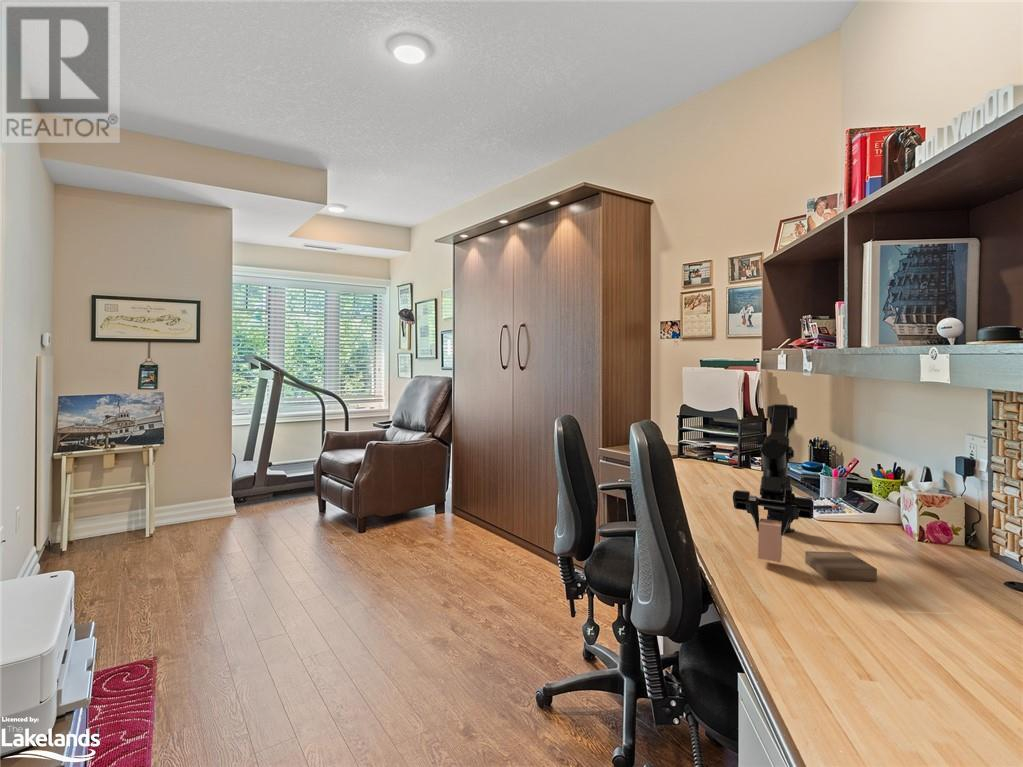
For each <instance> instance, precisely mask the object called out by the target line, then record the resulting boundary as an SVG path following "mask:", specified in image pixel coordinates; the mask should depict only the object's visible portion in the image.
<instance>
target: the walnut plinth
mask: <svg viewBox="0 0 1023 767" xmlns="http://www.w3.org/2000/svg"><path fill="white" fill-rule="evenodd" d="M804 556H805V557H804V559H805V561H804V563H805V564H806V565H808V566H809V567H810V568H812V569H813V570H814V571H815V572H817V573H818V574H820V575H821V577H823V578H825V579H826V580H827V581H841V582H842V581H843V582H847V581H848V582H877V581H878V578H877V577H878V568H876V567H875V566H873V565H871V564H869V563H868V562H867V561H865V560H863V559H862V558H860V557H858V556H857V555H855V554H853V553H852V552H850V551H849V552H847V551H845V552H843V551H842V552H841V551H815V550H814V551H811V550H807V551H805V555H804Z"/></svg>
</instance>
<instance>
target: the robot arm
mask: <svg viewBox="0 0 1023 767" xmlns="http://www.w3.org/2000/svg"><path fill="white" fill-rule="evenodd" d="M766 409H767V410H766V419H768V420H769V425H770V434H769V435H767V436H765V437H764V442H763V444H761V445H760V449H759V457H761V459H762V460H761V461H762V467H763V469H762V471H763V472H762V476H761V480H760V482H761V483H760V486H759V496H760V497H758V496H756V495H751V491H747V490H739V489H735V490H734V491H733V493H732V501H733V508H734V509H736V510H739V511H740V510H741V511H746V513H747V514H750V515H751V517H752V519H753V521H754V524H755V528H756V531H757V533H759V521H760V510H759V506H760V507H763V511H767V515H766V519H770V520H777V521H782V527H781V536H782V537H783V536H784V534H787V533H794V532H795V531H796V530H795V528H791V524H792V523H793V521H794V520H795V521H796V520H797V521H798V520H799V519H802V518H803V519H808V520H809V519H810V520H811V519H814V500H813V499H812V498H808V497H801V496H796V494H795V493H794V492H793V486H792V477H791V476H789V475H788V472H789V471H788V468H789V467H788V466H789V465H788V464H789V462H790V460H793V458H794V457H795V450H794V448H793V447H792V446H791V445H790V444H791V443H790V433H791V431H792V430H793V429H794V428H795V425H796V421H798V407H796V406H794V405H791V404H779V403H778V404H776V403H774V404H772V405H767V407H766Z"/></svg>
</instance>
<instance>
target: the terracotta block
mask: <svg viewBox="0 0 1023 767" xmlns="http://www.w3.org/2000/svg"><path fill="white" fill-rule="evenodd" d="M781 527H782V521H777V520H770V519H767V518H759V532H758V540H757V541H758V543H757V544H758V546H757V547H758V548H757V559H758V560H765V561H770V562H775V563H781V560H782V556H783V555H782V554H783V553H782V548H783V546H782V545H783V536H781Z"/></svg>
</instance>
